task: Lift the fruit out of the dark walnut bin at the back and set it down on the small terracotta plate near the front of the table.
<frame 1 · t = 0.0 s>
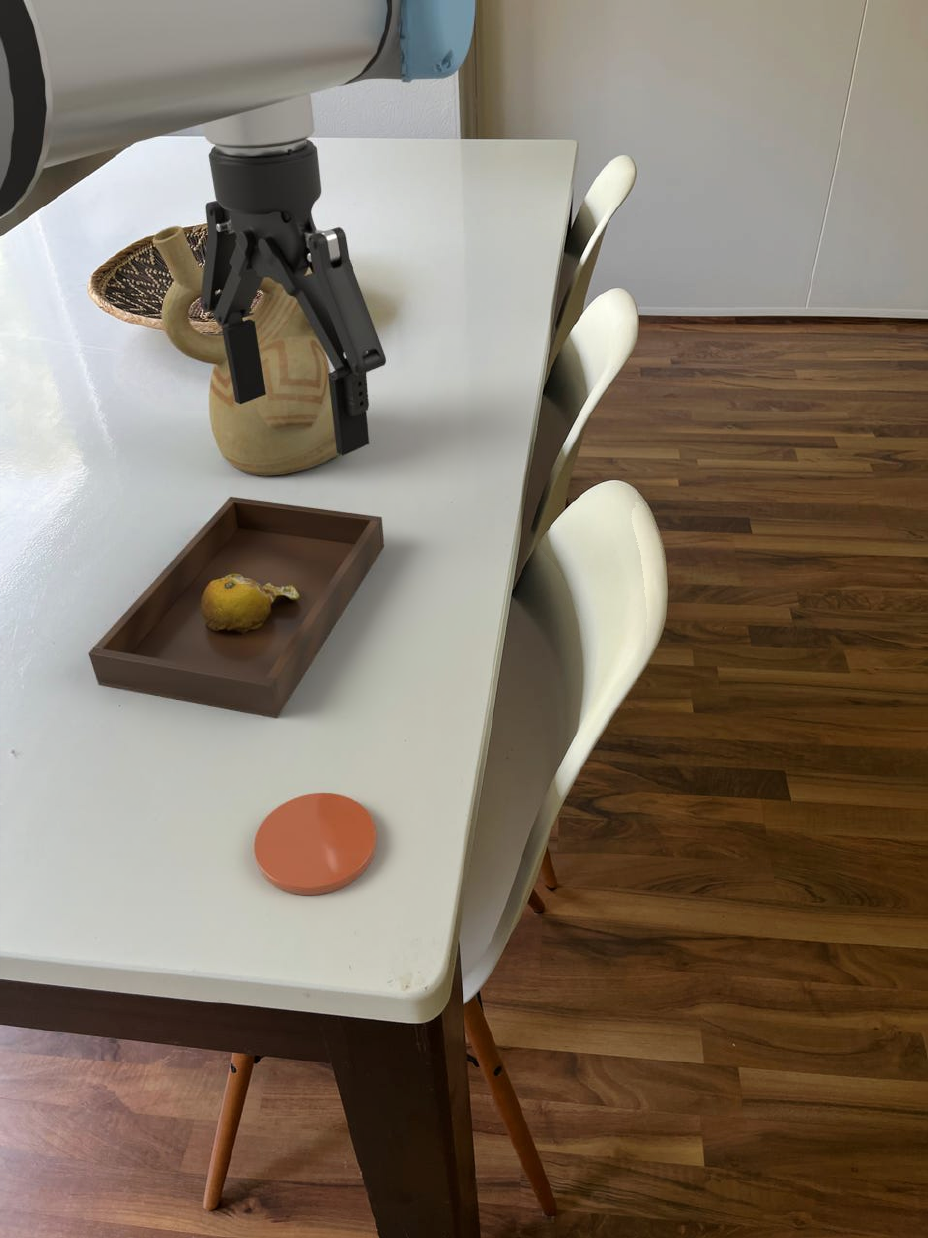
hand: (299, 422, 81), 15 cm above the table, tool pointing down, fingers open, 13 cm apart
ceramic vessel: (281, 451, 110), on the table
fruit: (253, 608, 87), resting on bin
bin: (253, 609, 87), on the table
plate: (316, 845, 66), on the table
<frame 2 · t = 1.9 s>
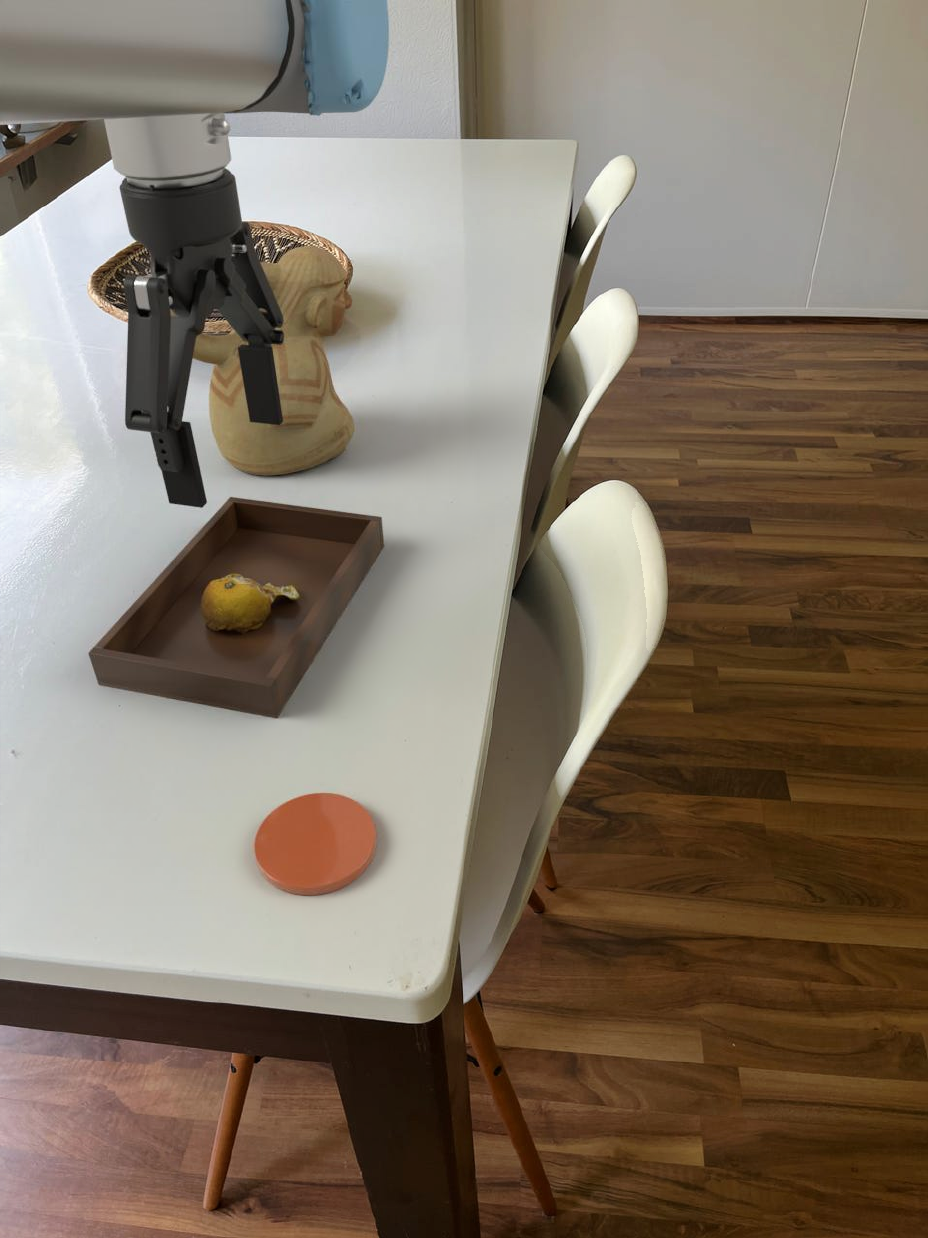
hand: (230, 460, 78), 15 cm above the table, tool pointing down, fingers open, 13 cm apart
nothing on the table moved.
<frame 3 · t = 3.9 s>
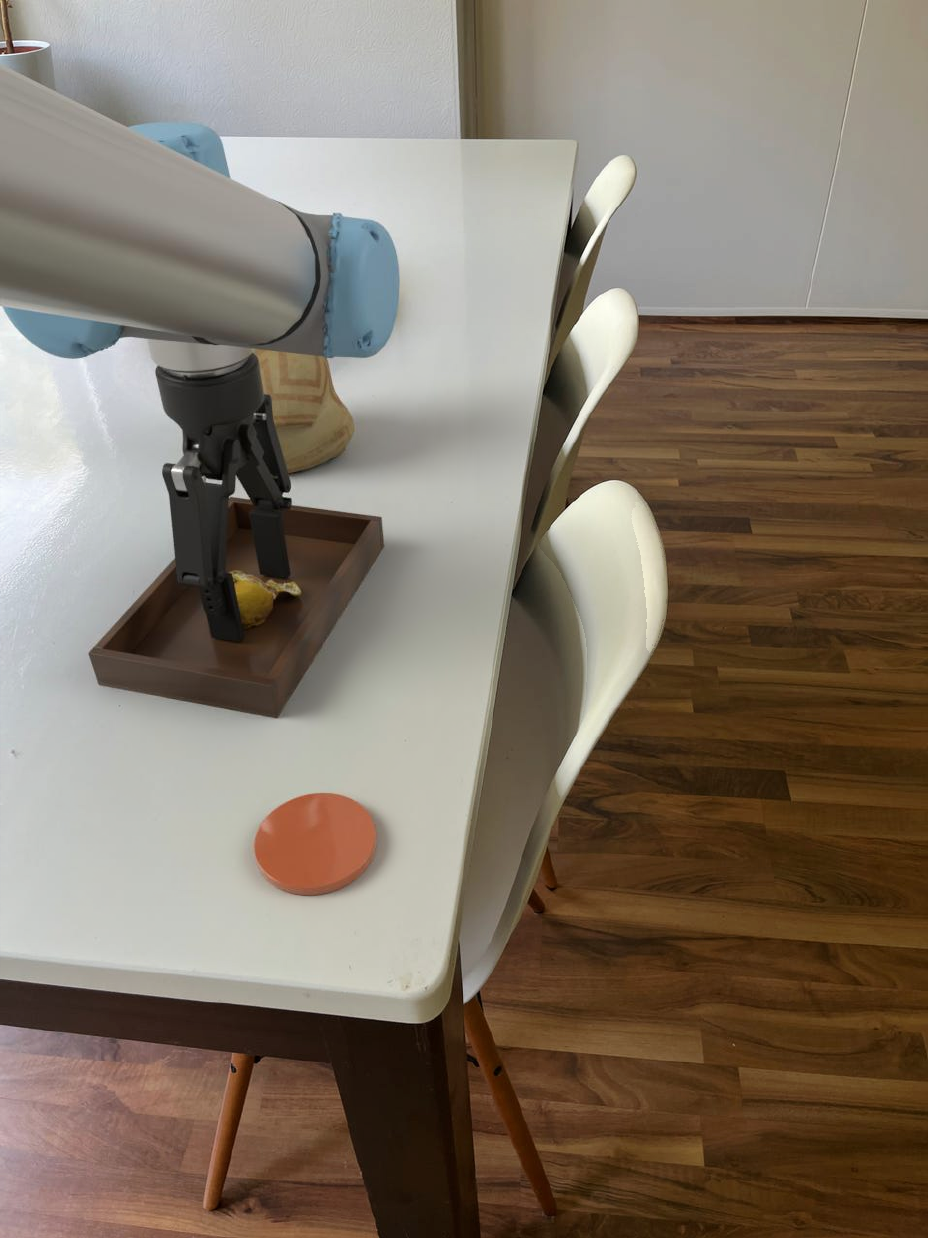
hand: (252, 604, 86), 1 cm above the table, tool pointing down, fingers closed on bin, 9 cm apart
fruit: (255, 604, 87), resting on bin
everything else where it was.
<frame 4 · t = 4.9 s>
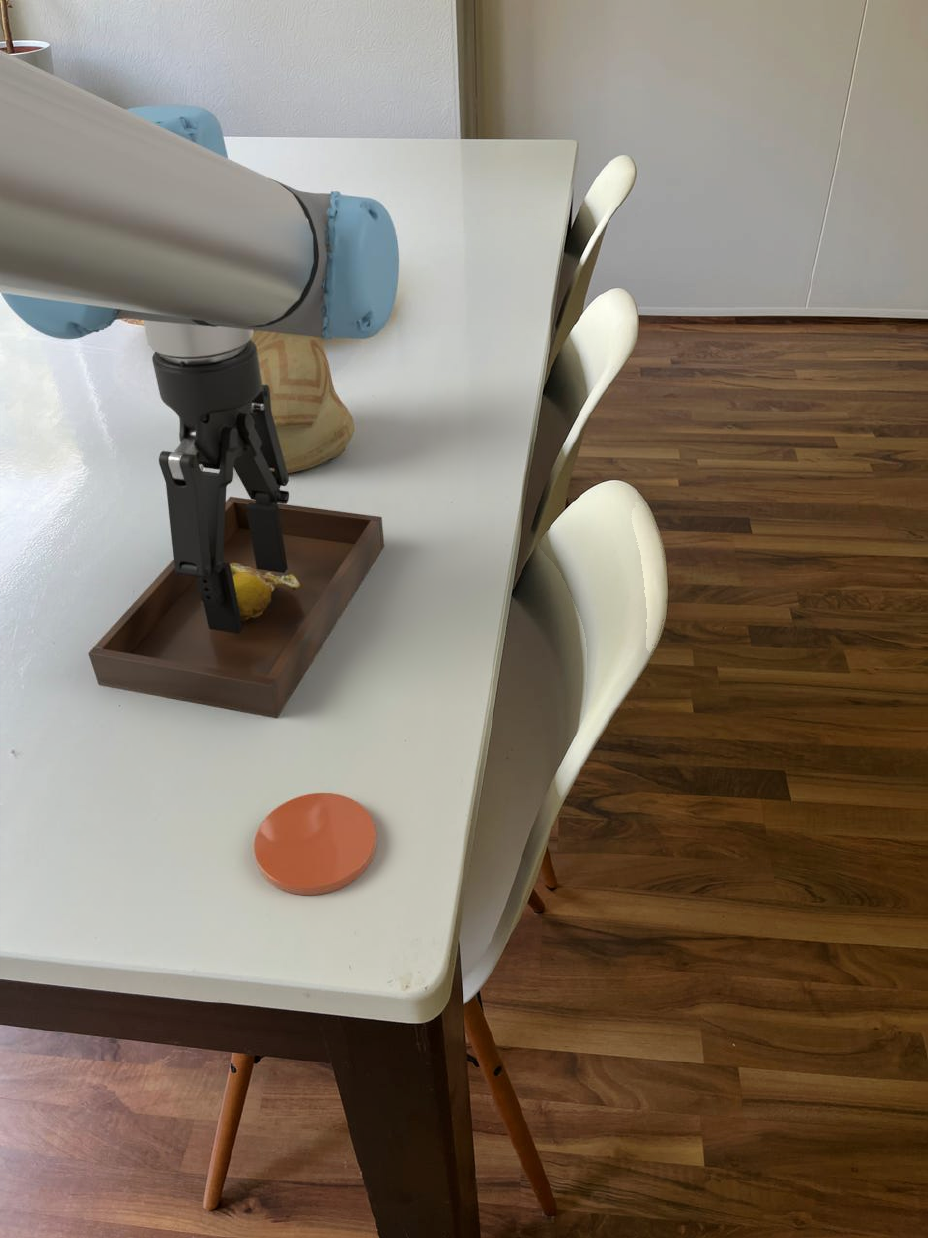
hand: (249, 597, 85), 1 cm above the table, tool pointing down, fingers closed on fruit, 8 cm apart
fruit: (253, 597, 86), point 1 cm above the table, touching gripper
everything else where it was.
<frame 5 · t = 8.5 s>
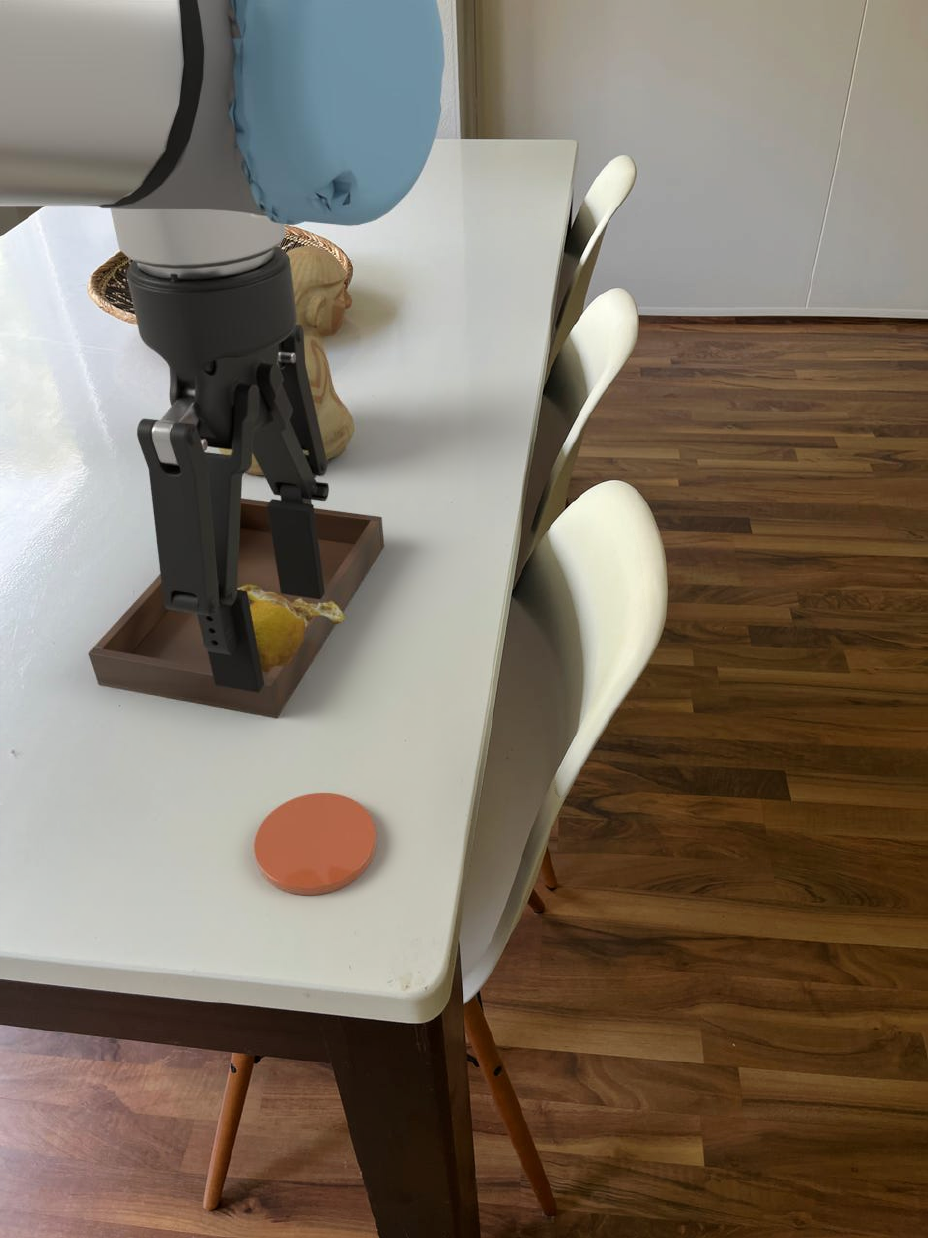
hand: (273, 635, 59), 15 cm above the table, tool pointing down, fingers closed on fruit, 8 cm apart
fruit: (278, 635, 60), point 14 cm above the table, touching gripper
everything else where it was.
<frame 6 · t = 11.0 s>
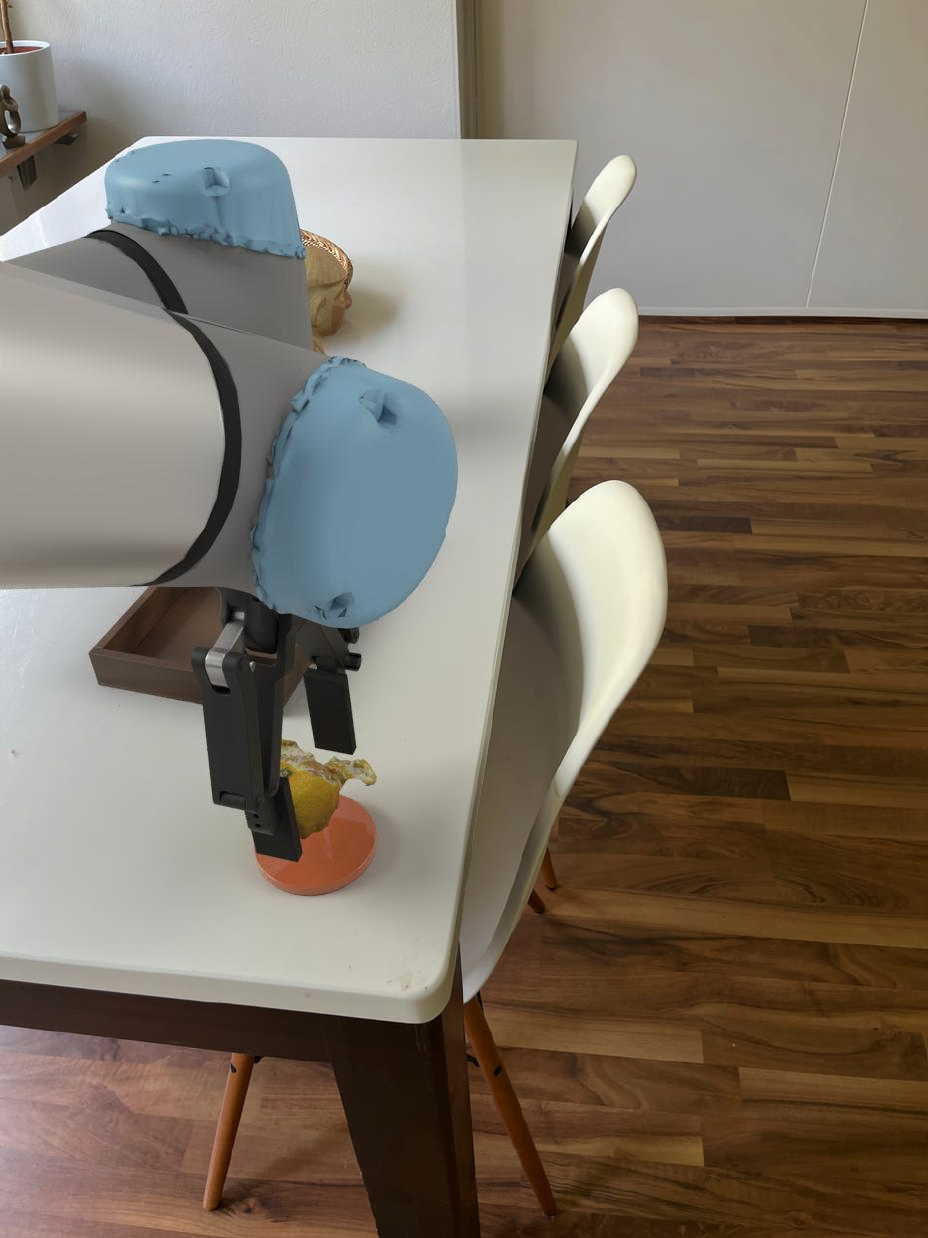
hand: (309, 797, 63), 5 cm above the table, tool pointing down, fingers closed on fruit, 8 cm apart
fruit: (314, 794, 64), point 4 cm above the table, touching gripper
everything else where it was.
when the fingers open (1 cm above the table, at t = 12.4 s): fruit stays where it is, resting on plate.
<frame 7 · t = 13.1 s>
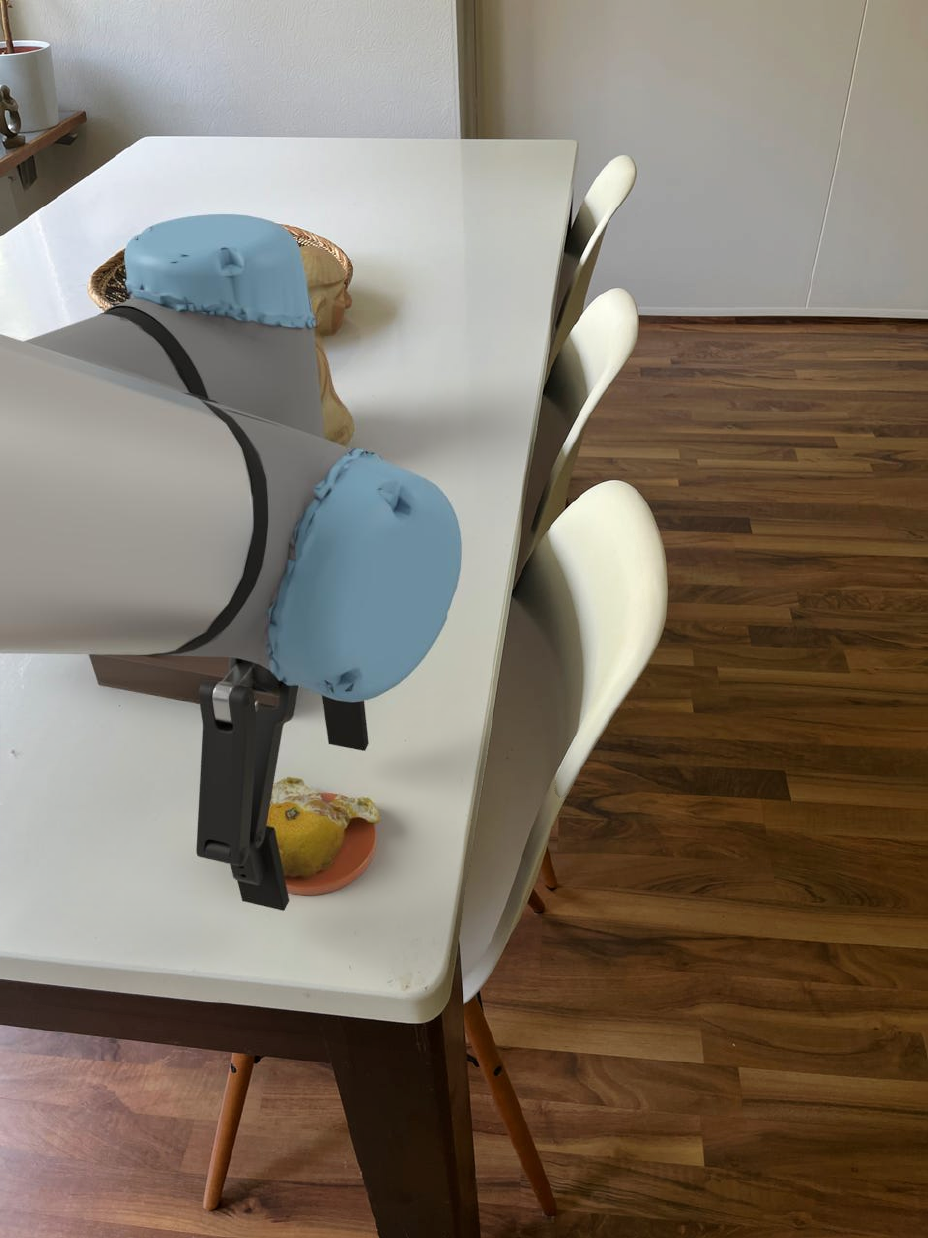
hand: (310, 816, 64), 3 cm above the table, tool pointing down, fingers open, 13 cm apart
fruit: (319, 831, 66), point 1 cm above the table, touching plate
everything else where it was.
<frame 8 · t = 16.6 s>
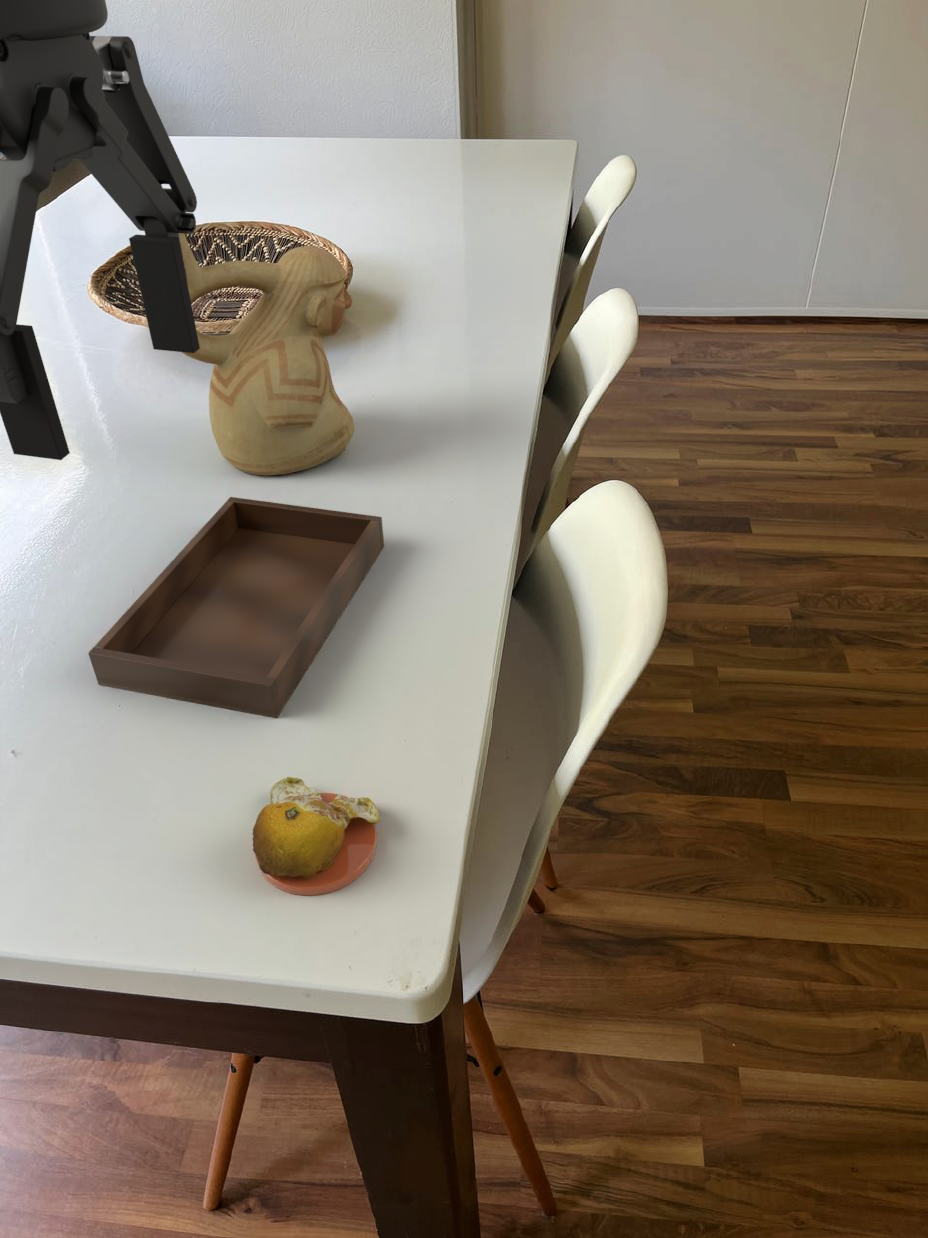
hand: (115, 397, 54), 29 cm above the table, tool pointing down, fingers open, 13 cm apart
nothing on the table moved.
at the end: fruit inside the target area on the plate (0.7 cm from its centre), point 0.6 cm above the plate's base; fruit touching plate; the gripper is holding nothing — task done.
